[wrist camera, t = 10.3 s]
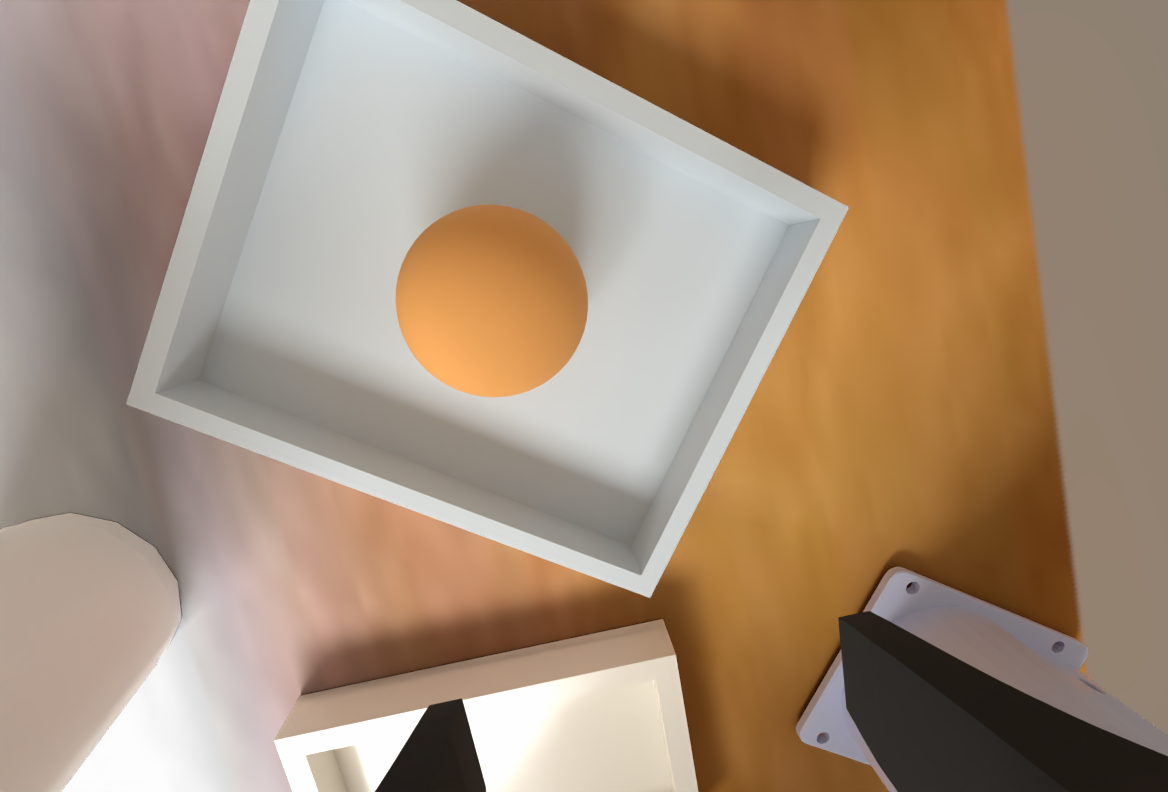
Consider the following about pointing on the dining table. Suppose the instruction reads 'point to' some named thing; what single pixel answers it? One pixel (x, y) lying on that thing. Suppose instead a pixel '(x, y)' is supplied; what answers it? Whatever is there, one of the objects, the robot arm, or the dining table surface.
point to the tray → (409, 206)
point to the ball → (491, 300)
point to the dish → (514, 719)
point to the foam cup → (74, 640)
